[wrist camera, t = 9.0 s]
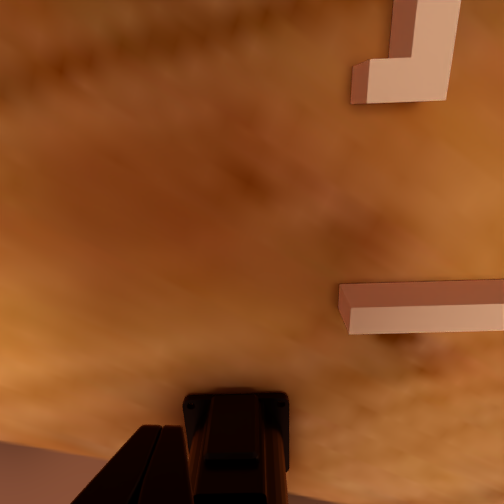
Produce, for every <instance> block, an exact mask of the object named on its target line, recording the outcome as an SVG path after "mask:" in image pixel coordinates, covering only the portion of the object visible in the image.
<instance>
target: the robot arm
mask: <svg viewBox="0 0 504 504" xmlns="http://www.w3.org/2000/svg"><path fill="white" fill-rule="evenodd" d="M279 401H283V402H281V403H280V402H279ZM189 403H193V405H192V404H189ZM183 413H184V420H185V427H186V434H187V441H188V448H189V460H188V459H187V452H186V445H185V438H184V431H183V427H182V426H180V425H165V426H163V428H162V426H161V425H149V424H145V425H142V426H141V427H140V428H139V429H138V430H137V431H136V432H135V433H134V434H133V435H132V436H131V438H130V439H129V440H128V441H127V442H126V443H125V444H124V445H123V446H122V447H121V448H120V450H119V451H118V452H117V453H116V454H115V455H114V456H113V457H112V458H111V459H110V461H109V462H108V463H107V464H106V465H105V466H104V467H103V468H102V469H101V471H100V472H99V473H98V474H97V475H96V476H95V477H94V478H93V479H92V480H91V482H89V484H88V485H87V486H86V487H85V488H84V489H83V490H82V491H81V492H80V493H79V495H78V496H77V497H76V498H75V499H74V500H73V501H72V502H71V504H288V493H287V481H286V472H287V471H288V470H289V399H288V396H287V395H286V394H284V393H260V394H216V395H189V396H187V397H185V399H184V402H183Z"/></svg>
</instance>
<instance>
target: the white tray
mask: <svg viewBox="0 0 504 504" xmlns="http://www.w3.org/2000/svg"><path fill="white" fill-rule="evenodd" d="M460 3H461V0H394V3H393V14H392V24H391V35H390V46H389V57H388V58H387V59H369V60H367V61H365V62H362V63H360V64H358V65H355V66H353V71H352V87H351V104H367V103H393V102H419V101H441V100H446V96H447V89H448V83H449V76H450V69H451V63H452V56H453V50H454V43H455V36H456V30H457V23H458V17H459V10H460ZM338 309H339V312H340V314H341V316H342V319H343V321H344V324H345V326H346V328H347V331H348V333H349V334H387V333H425V332H464V331H502V330H504V279H498V280H463V281H429V282H394V283H359V284H339V301H338Z"/></svg>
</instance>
